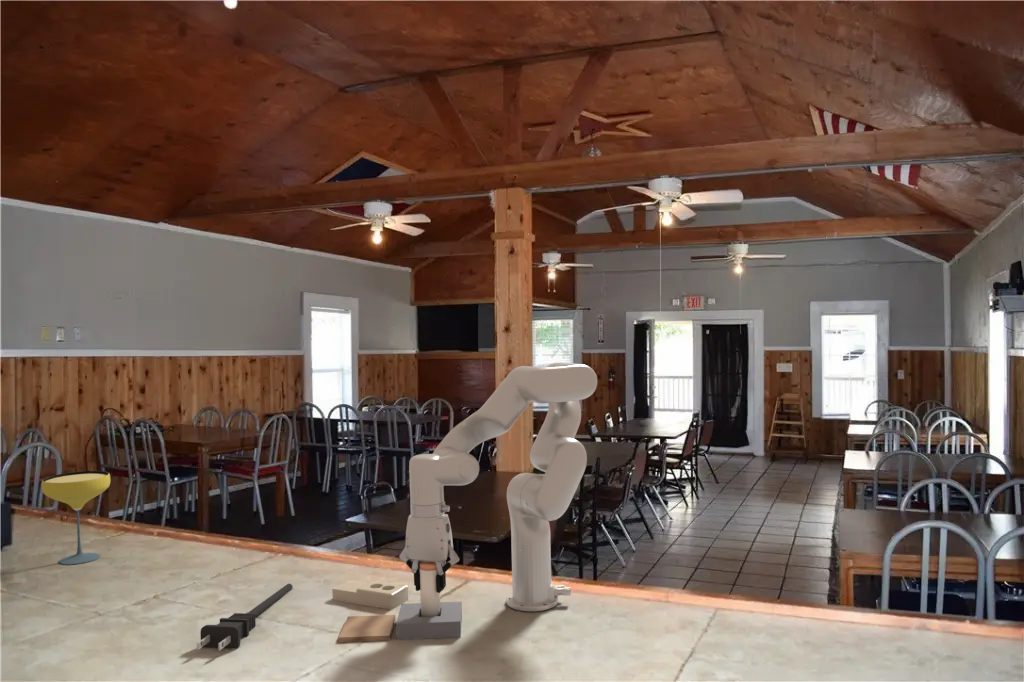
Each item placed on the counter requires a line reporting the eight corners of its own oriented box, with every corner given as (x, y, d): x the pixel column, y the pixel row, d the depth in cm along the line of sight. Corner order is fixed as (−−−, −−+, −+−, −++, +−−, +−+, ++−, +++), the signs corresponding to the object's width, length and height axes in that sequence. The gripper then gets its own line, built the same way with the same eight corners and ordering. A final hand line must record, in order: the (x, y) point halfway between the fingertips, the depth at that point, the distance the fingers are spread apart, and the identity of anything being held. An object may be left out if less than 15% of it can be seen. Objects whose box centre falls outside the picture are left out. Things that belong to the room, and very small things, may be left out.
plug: (443, 611, 180) (442, 559, 179) (436, 619, 176) (434, 566, 175) (425, 610, 181) (424, 558, 181) (417, 617, 177) (416, 564, 177)
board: (395, 618, 184) (395, 614, 184) (389, 640, 172) (389, 635, 172) (348, 620, 184) (347, 616, 184) (338, 642, 172) (338, 637, 172)
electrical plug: (189, 657, 166) (188, 633, 166) (273, 596, 207) (273, 577, 207) (227, 659, 165) (227, 635, 165) (305, 596, 206) (304, 577, 206)
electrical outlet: (349, 576, 204) (408, 585, 196) (350, 591, 204) (408, 601, 197) (332, 585, 198) (391, 594, 190) (332, 601, 198) (392, 611, 190)
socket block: (461, 616, 185) (461, 601, 185) (460, 637, 173) (460, 621, 173) (401, 618, 184) (401, 603, 184) (396, 639, 172) (396, 623, 172)
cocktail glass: (73, 549, 247) (69, 470, 246) (126, 550, 245) (123, 470, 244) (30, 568, 229) (26, 482, 228) (87, 569, 227) (83, 483, 226)
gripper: (468, 507, 179) (470, 586, 179) (400, 504, 184) (403, 581, 184) (456, 515, 172) (459, 598, 172) (386, 512, 176) (388, 592, 177)
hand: (430, 588), depth 178 cm, fingers closed on plug, 4 cm apart
